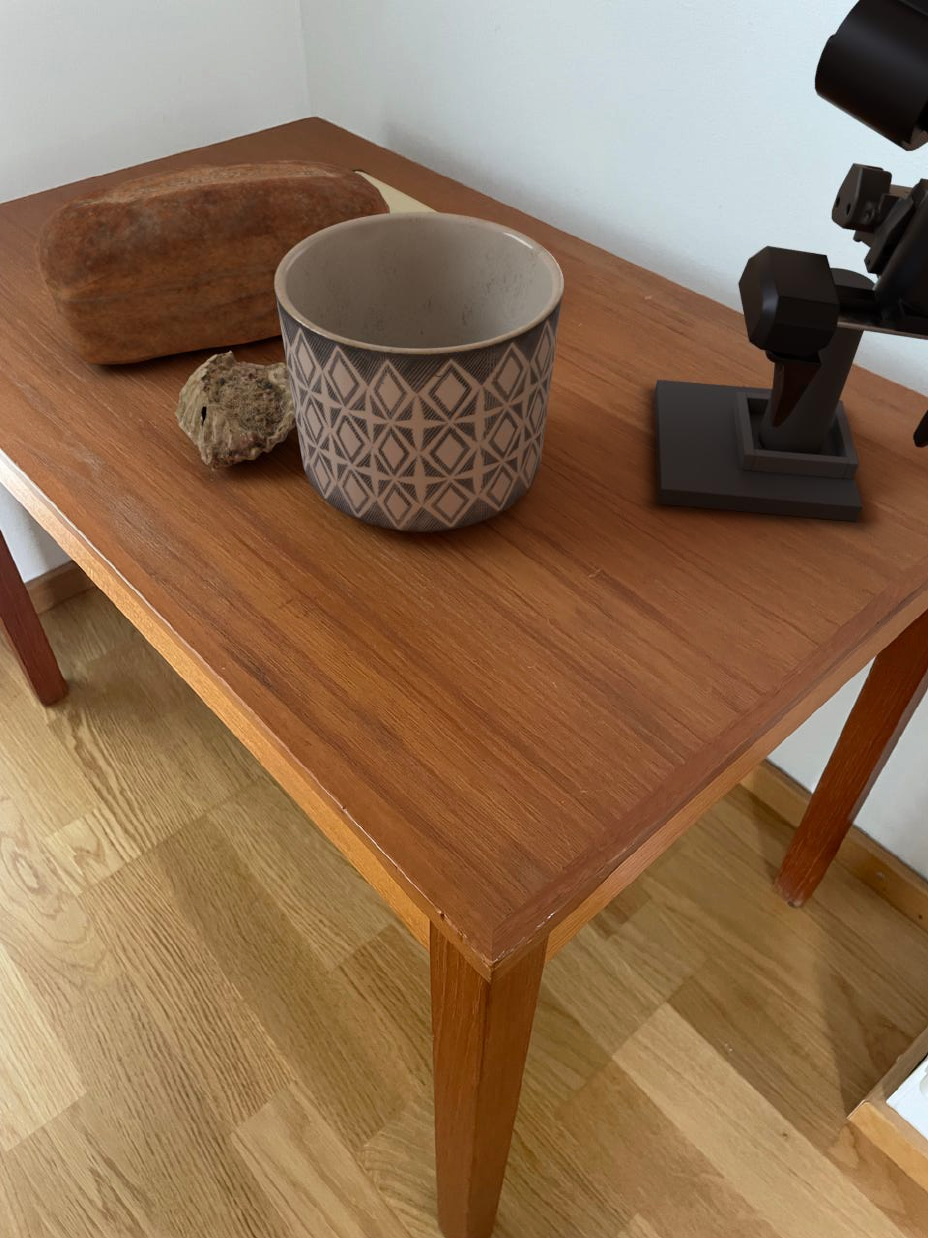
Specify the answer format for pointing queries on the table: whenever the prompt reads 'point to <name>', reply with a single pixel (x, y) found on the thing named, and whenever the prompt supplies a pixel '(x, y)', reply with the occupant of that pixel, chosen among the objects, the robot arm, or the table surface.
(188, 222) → the bread
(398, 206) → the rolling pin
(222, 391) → the seashell
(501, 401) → the planter
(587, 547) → the table surface
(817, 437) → the dark grey cylinder
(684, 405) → the base pad
